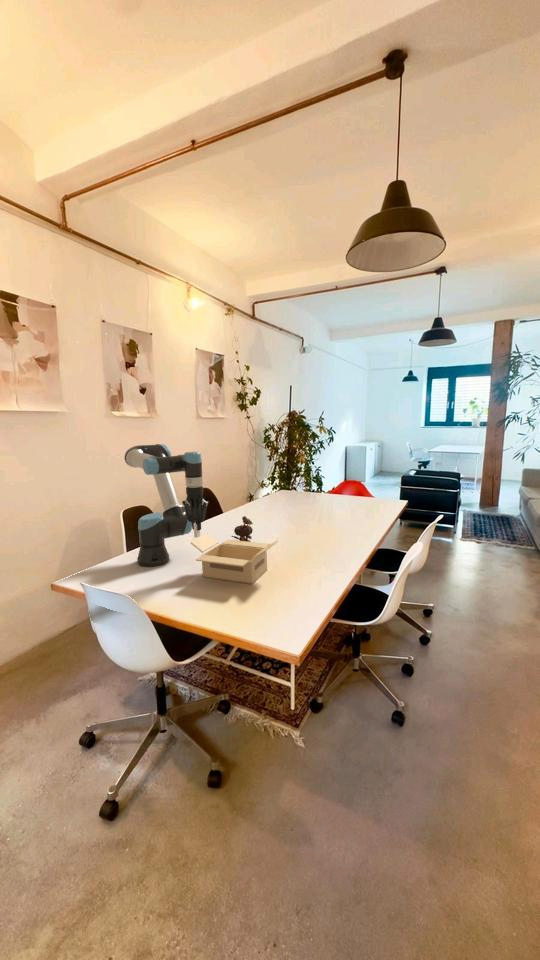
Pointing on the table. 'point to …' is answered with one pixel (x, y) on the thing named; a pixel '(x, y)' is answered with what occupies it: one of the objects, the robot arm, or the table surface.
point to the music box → (244, 530)
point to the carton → (235, 561)
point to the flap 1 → (204, 543)
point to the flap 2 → (265, 549)
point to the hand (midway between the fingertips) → (197, 536)
